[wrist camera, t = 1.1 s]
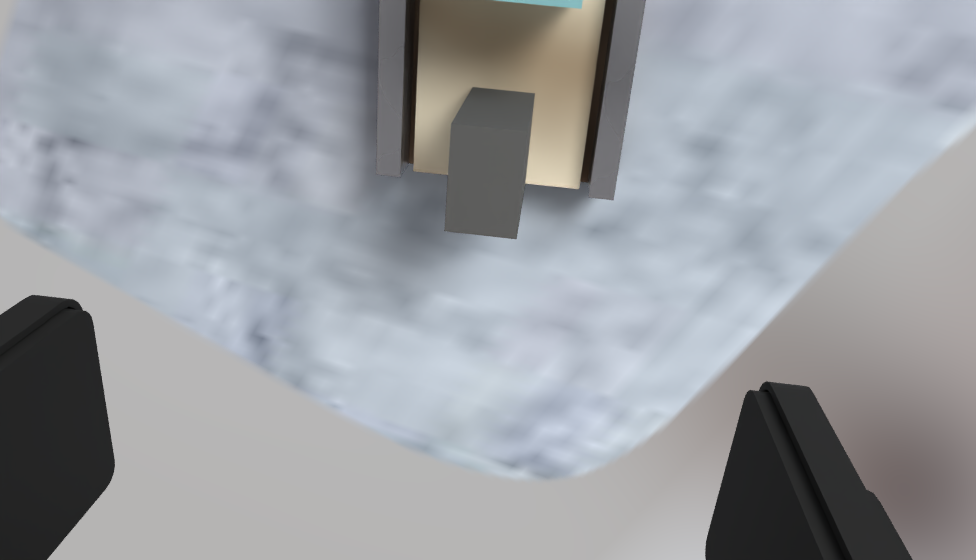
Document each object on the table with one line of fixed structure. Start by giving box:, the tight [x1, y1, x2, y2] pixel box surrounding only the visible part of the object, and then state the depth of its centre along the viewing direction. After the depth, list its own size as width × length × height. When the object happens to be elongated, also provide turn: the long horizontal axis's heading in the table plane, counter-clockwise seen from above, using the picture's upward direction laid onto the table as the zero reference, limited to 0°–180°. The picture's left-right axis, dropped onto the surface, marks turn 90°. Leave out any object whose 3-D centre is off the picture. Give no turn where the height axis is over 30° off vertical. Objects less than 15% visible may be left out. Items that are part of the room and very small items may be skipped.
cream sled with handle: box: [413, 0, 606, 239], centre depth 21 cm, size 10×6×6 cm, turn 175°
